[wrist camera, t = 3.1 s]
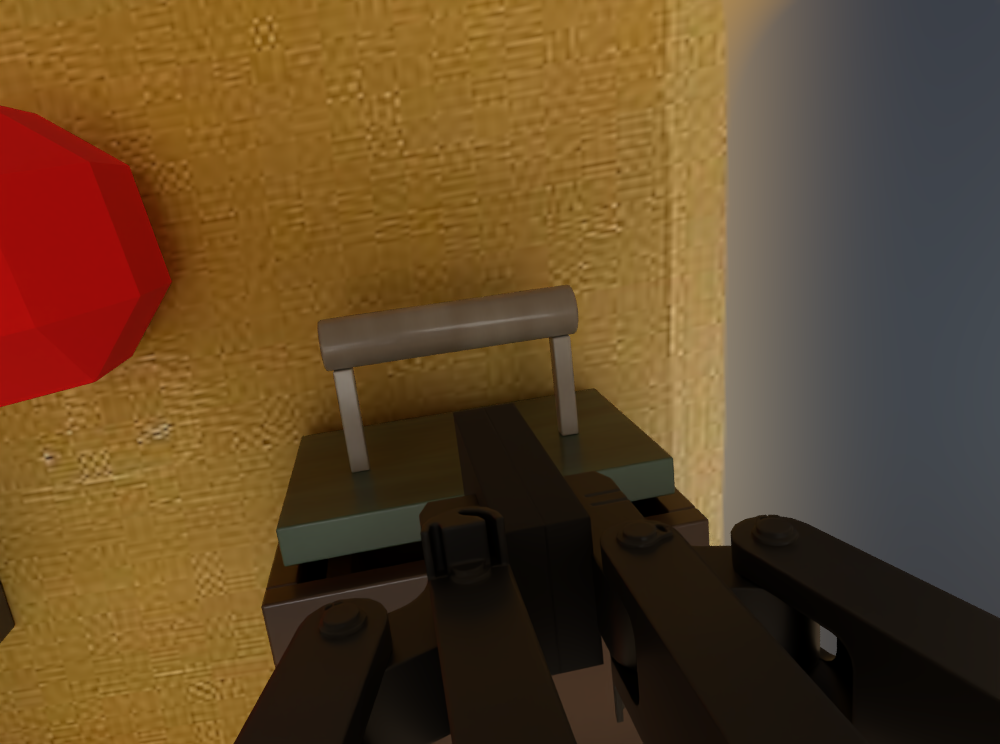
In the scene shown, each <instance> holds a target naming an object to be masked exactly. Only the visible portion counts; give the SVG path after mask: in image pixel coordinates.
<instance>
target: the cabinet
mask: <svg viewBox="0 0 1000 744" xmlns="http://www.w3.org/2000/svg"><path fill="white" fill-rule="evenodd" d="M632 504H633V505H634V506H635V507H636V508H637V510H638V511H639V512H640V513H641V514H642V515H643V517H644V518H645V519H646V520H654V521H659V522H662V523H665V524H669V525H670V526H672V527H673V528H675V529H676V530H678V531H679V533H680V534H681V535H682V536H683V537H684V538H685V539H686V540H687V541H688V542H689V544H690V545H692V546H709V526H708V519H707V518H706V517H705V516H704V515H703V514H702V513H701V512H700V511H699V510H698V509H696V508H695V506H694V505H693V504H692V503H691V502H690V501H689V500H688V499H687V498H686V497H684V496H683V495H682V494H681V493H680V492H679V491H678V490H677V489H676V488H675V493H674V494H669V495H664V496H659V497H653V498H648V499H643V500H637V501H632ZM327 563H328V559H323V560H318V561H312V562H307V563H302V564H296V565H291V566H284V564H283V560H282V555H281V551H280V546H279V542H278V546H277V550H276V553H275V557H274V561H273V565H272V569H271V573H270V576H269V580H268V584H267V588H266V592H265V596H264V600H263V603H262V607H261V608H262V612H263V616H264V621H265V625H266V629H267V634H268V638H269V642H270V647H271V651H272V655H273V660H274V664H275V668H276V666H277V665H278V663H279V661H280V659H281V657H282V656H283V654H284V652H285V650H286V648H287V647H288V645H289V643H290V641H291V639H292V638H293V636H294V634H295V632H296V630H297V629H298V627H299V625H300V624H301V623H302V622H303V621H304V620H305V618H306V617H307V616H308V615H310V614H311V613H313V612H314V611H316V610H317V609H319V608H320V607H322V606H324V605H326V604H328V603H333V601H337V600H340V599H350V598H369V599H372V600H375V601H377V602H380V603H381V604H382V605H383V606H384V607H385V609H386V610H387V613H390V612H392V611H395V610H397V609H399V608H401V607H403V606H405V605H407V604H409V603H410V602H412V601H413V600H414V599H416V598H417V597H418V596H419V595H420V594H421V593H422V592H423V591H424V589H425V587H426V585H427V581H428V578H427V572H426V566H425V560H420V561H414V562H409V563H404V564H399V565H394V566H388V567H383V568H378V569H373V570H367V571H362V572H357V573H352V574H346V575H341V576H336V577H331V578H326V571H327ZM601 638H602V636H601ZM602 649H603V660H604V664H603V665H598V666H594V667H589V668H585V669H580V670H575V671H571V672H566V673H562V674H557V675H552V678H553V681H554V684H555V686H556V689H557V692H558V694H559V697H560V700H561V702H562V705H563V708H564V710H565V713H566V716H567V718H568V721H569V724H570V726H571V729H572V732H573V734H574V737H575V740H576V742H577V744H643V742H642V740H641V738H640V736H639V734H638V732H637V730H636V728H635V726H634V724H633V722H632V720H631V718H630V716H629V714H628V712H627V709H626V707H625V708H624V709H623V718H624V722H620V723H617V719H616V714H615V703H614V692H613V681H612V670H611V659H610V652H609V650H608V648H607V646H606V644H605V642H604V640H603V638H602ZM432 744H452V740H451V734H450V735H448V736H446V737H444V738H442V739H440V740H438V741H436V742H434V743H432Z"/></svg>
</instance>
